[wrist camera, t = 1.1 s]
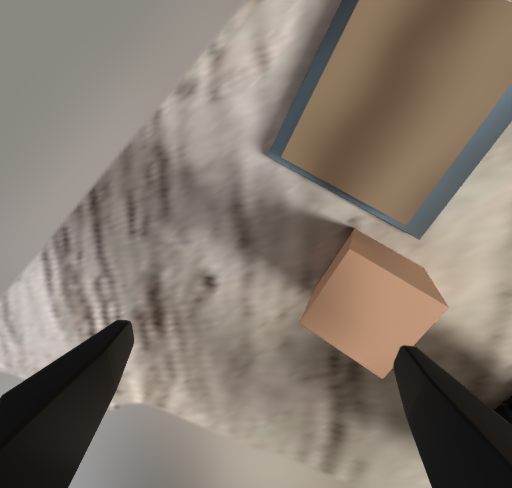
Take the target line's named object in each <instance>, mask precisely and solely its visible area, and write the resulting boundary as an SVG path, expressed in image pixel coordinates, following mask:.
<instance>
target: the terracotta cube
mask: <svg viewBox="0 0 512 488" xmlns="http://www.w3.org/2000/svg"><path fill="white" fill-rule="evenodd" d="M448 308H449V307H448V305H447V304H446V302H445V301H444V299H443V297H442V296H441V294H440V293H439V291H438V290H437V288H436V286H435V285H434V283H433V282H432V280H431V279H430V277H429V275H428V274H427V272H426V271H425V269H424V268H423V267H421V266H419V265H417V264H416V263H414V262H412V261H410V260H409V259H407V258H405V257H403V256H402V255H400V254H398V253H396V252H395V251H393V250H391V249H389V248H388V247H386V246H384V245H382V244H381V243H379V242H377V241H375V240H374V239H372V238H370V237H368V236H367V235H365V234H363V233H361V232H360V231H358V230H356V229H354V230H353V231H352V233H351V234H350V236H349V237H348V239H347V240H346V242H345V243H344V245H343V246H342V248H341V249H340V251H339V252H338V254H337V255H336V257H335V258H334V260H333V261H332V263H331V264H330V266H329V267H328V269H327V270H326V272H325V273H324V275H323V276H322V278H321V279H320V281H319V283H318V284H317V286H316V288H315V290H314V292H313V294H312V297H311V299H310V301H309V303H308V305H307V307H306V310H305V312H304V314H303V316H302V318H301V320H300V324H301V325H303V326H304V327H306V328H307V329H309V330H310V331H312V332H313V333H315V334H316V335H318V336H319V337H321V338H322V339H324V340H325V341H327V342H328V343H330V344H331V345H333V346H334V347H335V348H337V349H338V350H340V351H341V352H343V353H344V354H346V355H347V356H349V357H350V358H352V359H353V360H355V361H356V362H358V363H359V364H361V365H362V366H364V367H365V368H367V369H368V370H370V371H371V372H372V373H374V374H375V375H377V376H378V377H380V378H381V379H383V378H384V377H385V376H386V375H387V374H388V373H389V372H390V371H391V370H392V369H393V364H394V360H395V358H396V356H397V353H398V351H399V349H400V347H401V346H402V345H408V346H414V345H415V344H416V342H417V341H418V340H419V339H420V338H421V337H422V336H423V335H424V334H425V333H426V332H427V331H428V329H429V328H430V327H431V326H432V325H433V324H434V323H435V322H436V321H437V320H438V319H439V317H440V316H441V315H442V314H443V313H444V312H445V311H446V310H447V309H448Z"/></svg>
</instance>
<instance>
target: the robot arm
mask: <svg viewBox="0 0 512 488" xmlns="http://www.w3.org/2000/svg"><path fill="white" fill-rule="evenodd" d="M133 344H134V335H133V329H132V324H131V322H130V321H128V320H117V321H115V322H113V323H112V324H110V325H109V326H107V327H106V328H104V329H103V330H101V331H100V332H98V333H97V334H95V335H93V336H92V337H90V338H89V339H87V340H86V341H84V342H83V343H81V344H80V345H78V346H77V347H75V348H74V349H72V350H71V351H69V352H67V353H66V354H64V355H63V356H61V357H60V358H58V359H57V360H55V361H54V362H52V363H51V364H49V365H48V366H46V367H45V368H43V369H41V370H40V371H38V372H37V373H35V374H34V375H32V376H31V377H29V378H28V379H26V380H25V381H23V382H22V383H20V384H19V385H17V386H16V387H14V388H13V389H11V390H9V391H8V392H6V393H5V394H3V395H2V396H1V398H0V488H68V486H69V485H70V483H71V481H72V479H73V477H74V475H75V473H76V471H77V469H78V467H79V465H80V463H81V461H82V459H83V457H84V455H85V452H86V451H87V449H88V447H89V445H90V443H91V441H92V438H93V436H94V435H95V432H96V431H97V429H98V427H99V425H100V423H101V420H102V418H103V416H104V414H105V412H106V410H107V408H108V406H109V404H110V402H111V400H112V398H113V396H114V394H115V392H116V390H117V387H118V385H119V382H120V380H121V377H122V374H123V371H124V369H125V366H126V363H127V361H128V358H129V355H130V353H131V350H132V347H133ZM393 367H394V372H395V376H396V380H397V384H398V388H399V392H400V396H401V399H402V403H403V407H404V411H405V414H406V418H407V420H408V423H409V426H410V429H411V432H412V434H413V437H414V440H415V443H416V445H417V448H418V451H419V454H420V456H421V459H422V462H423V464H424V467H425V470H426V473H427V475H428V478H429V481H430V484H431V486H432V488H512V396H511V397H510V398H509V399H508V400H506V401H505V402H504V403H503V404H501V405H500V406H498V407H497V408H496V409H495V410H492V409H491V408H490V407H489V406H488V405H486V404H485V403H484V402H483V401H481V400H480V399H479V398H478V397H477V396H475V395H474V394H473V393H472V392H470V391H469V390H468V389H467V388H466V387H464V386H463V385H462V384H461V383H459V382H458V381H457V380H456V379H455V378H453V377H452V376H451V375H450V374H449V373H447V372H446V371H445V370H444V369H442V368H441V367H440V366H439V365H438V364H436V363H435V362H434V361H433V360H431V359H430V358H429V357H428V356H427V355H425V354H424V353H423V352H422V351H420V350H419V349H418V348H417V347H415V346H408V345H402V346H401V347H400V349H399V351H398V353H397V356H396V358H395V360H394V364H393Z"/></svg>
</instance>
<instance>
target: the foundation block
mask: <svg viewBox="0 0 512 488" xmlns="http://www.w3.org/2000/svg"><path fill="white" fill-rule="evenodd" d="M511 121H512V2H509V1H506V0H342V2H341V4H340V6H339V8H338V10H337V12H336V14H335V17H334V19H333V21H332V23H331V25H330V27H329V29H328V31H327V33H326V35H325V38H324V40H323V42H322V44H321V46H320V48H319V50H318V52H317V54H316V56H315V58H314V61H313V63H312V65H311V67H310V69H309V71H308V73H307V75H306V77H305V79H304V81H303V84H302V86H301V88H300V90H299V92H298V94H297V96H296V98H295V100H294V102H293V104H292V107H291V109H290V111H289V113H288V115H287V117H286V119H285V121H284V123H283V125H282V127H281V130H280V132H279V134H278V136H277V138H276V140H275V142H274V144H273V146H272V148H271V150H270V153H269V155H268V156H269V157H270V158H272V159H274V160H276V161H278V162H279V163H281V164H283V165H285V166H287V167H289V168H290V169H292V170H294V171H296V172H298V173H299V174H301V175H303V176H305V177H307V178H308V179H310V180H312V181H314V182H316V183H318V184H319V185H321V186H323V187H325V188H327V189H328V190H330V191H332V192H334V193H336V194H338V195H339V196H341V197H343V198H345V199H347V200H348V201H350V202H352V203H354V204H356V205H357V206H359V207H361V208H363V209H365V210H367V211H368V212H370V213H372V214H374V215H376V216H377V217H379V218H381V219H383V220H385V221H386V222H388V223H390V224H392V225H394V226H396V227H397V228H399V229H401V230H403V231H405V232H406V233H408V234H410V235H412V236H414V237H415V238H417V239H419V240H420V238H421V237H422V236H423V234H424V233H425V232H426V231H427V229H428V228H429V227H430V225H431V224H432V223H433V222H434V220H435V219H436V218H437V216H438V215H439V214H440V213H441V211H442V210H443V209H444V207H445V206H446V205H447V204H448V202H449V201H450V200H451V198H452V197H453V196H454V195H455V193H456V192H457V191H458V189H459V188H460V187H461V186H462V184H463V183H464V182H465V180H466V179H467V178H468V177H469V175H470V174H471V173H472V171H473V170H474V169H475V168H476V166H477V165H478V164H479V162H480V161H481V160H482V159H483V157H484V156H485V155H486V153H487V152H488V151H489V150H490V148H491V147H492V146H493V144H494V143H495V142H496V141H497V139H498V138H499V137H500V135H501V134H502V133H503V132H504V130H505V129H506V128H507V126H508V125H509V124H510V123H511Z"/></svg>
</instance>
